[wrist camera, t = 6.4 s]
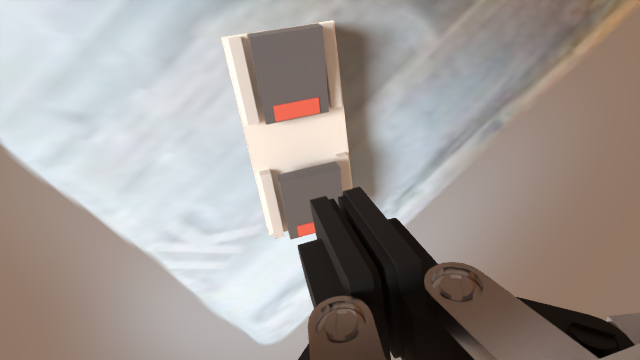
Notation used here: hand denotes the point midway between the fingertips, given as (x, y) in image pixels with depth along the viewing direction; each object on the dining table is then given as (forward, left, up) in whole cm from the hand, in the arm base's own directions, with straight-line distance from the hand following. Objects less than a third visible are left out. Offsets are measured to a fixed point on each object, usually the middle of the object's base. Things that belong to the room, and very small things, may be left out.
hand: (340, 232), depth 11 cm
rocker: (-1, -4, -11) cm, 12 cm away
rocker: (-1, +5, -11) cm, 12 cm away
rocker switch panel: (-1, 0, -16) cm, 16 cm away
